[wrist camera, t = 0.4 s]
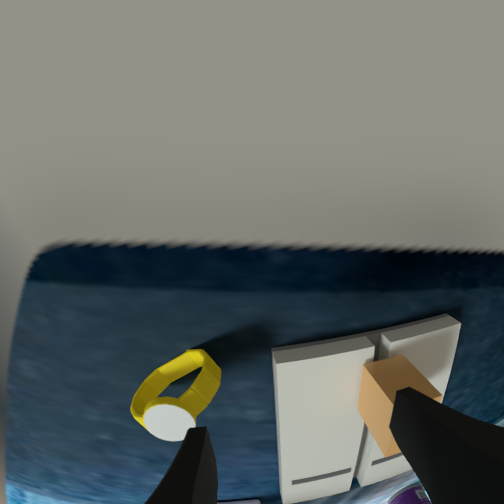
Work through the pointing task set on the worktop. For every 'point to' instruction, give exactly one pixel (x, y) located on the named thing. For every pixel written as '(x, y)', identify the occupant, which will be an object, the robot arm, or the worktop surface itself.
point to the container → (410, 496)
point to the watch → (172, 409)
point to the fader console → (345, 404)
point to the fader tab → (388, 396)
